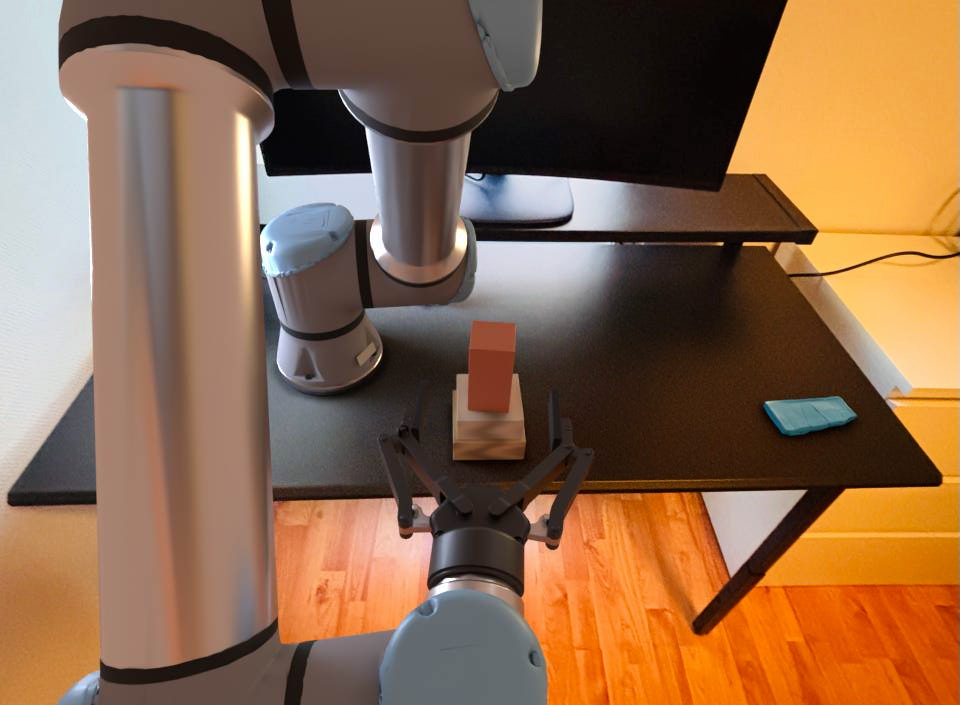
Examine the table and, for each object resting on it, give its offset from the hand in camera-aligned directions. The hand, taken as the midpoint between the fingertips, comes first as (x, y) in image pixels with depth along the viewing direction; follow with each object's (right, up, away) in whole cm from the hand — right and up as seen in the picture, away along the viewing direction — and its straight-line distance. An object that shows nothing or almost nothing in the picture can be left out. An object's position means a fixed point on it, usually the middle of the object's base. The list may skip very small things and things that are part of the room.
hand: (489, 393), depth 56 cm
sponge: (+45, -5, +19) cm, 49 cm away
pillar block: (0, -1, +10) cm, 10 cm away
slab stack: (0, -6, +15) cm, 16 cm away
